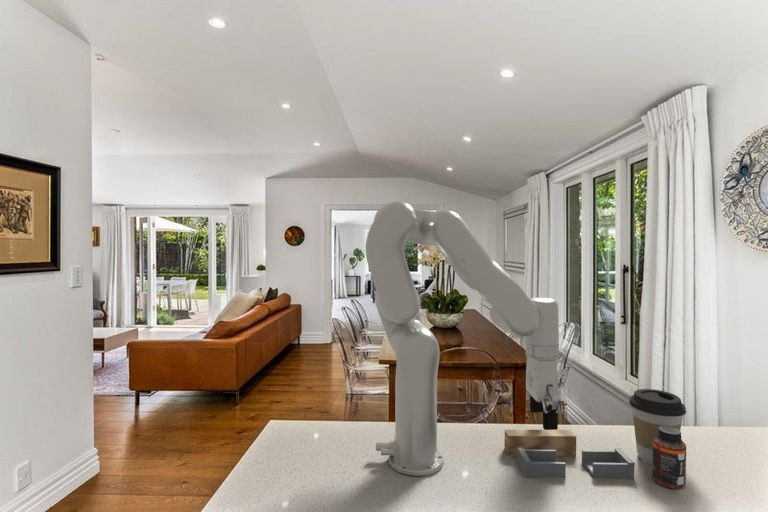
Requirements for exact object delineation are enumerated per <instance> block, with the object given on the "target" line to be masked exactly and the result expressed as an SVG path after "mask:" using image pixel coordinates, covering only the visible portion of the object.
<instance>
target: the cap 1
mask: <svg viewBox="0 0 768 512" xmlns="http://www.w3.org/2000/svg"><path fill="white" fill-rule="evenodd" d="M517 464H518V466H519V468H520V469H521V471H522V473H523V475H524V477H525V478H526V477H527V478H529V477H530V478H566V475H567V474H566V470H567V469H566V466H567V463H566V462H565V461H561V462H560V461H557V456H556V450H529V449H523V448H518V456H517Z"/></svg>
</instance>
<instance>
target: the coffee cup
mask: <svg viewBox="0 0 768 512" xmlns="http://www.w3.org/2000/svg"><path fill="white" fill-rule="evenodd" d="M628 403H629V405H630V406H631V409H632V419H633V427H634V436H635V445H636V453H637V455H638V458H639V459H640V460H641V461H642V462H644V463H646V464H650V465H652V463H653V439H654V437H656V436H658V435H659V434H658V432H659V427H662V426H667V427H672V428H676V429H678V430H679V431H681V428H682V423H683V418H684V415H686V414H687V410H686V409H687V407H686V406H685V404H684V403H682V399H681V398H680V397H679V396H678V395H677V394H674V393H672V392H668V391H663V390H659V389H652V388H641V389H637V390H635V391H634V392H633V394H632V395H631V396H630V397H629V402H628Z"/></svg>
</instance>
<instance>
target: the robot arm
mask: <svg viewBox="0 0 768 512" xmlns="http://www.w3.org/2000/svg"><path fill="white" fill-rule="evenodd" d="M406 243H409V244H414V245H415V244H416V245H425V246H431V247H432V246H433V247H436V249H437V250H438V252H439V253H440V254H441V255H442V257H444V258H443V259H445V260H446V263H448V264H449V265H450V267H451V268H452V270H453V272H454V273H456V275H457V276H458V277H459V279H460V280H461V281H462V282H463V283H465V285H466V286H468V287H469V288H470V289H471V290H473V291H474V292H476V293H478V294H479V295H480V296H481V297H483V298H484V299H485V300H486V301H487V303H489V305H491V306H490V309H489V317H490V318H489V319H490V321H491V322H492V323H493V324H494V325H495V326H496V327H498V328H499V329H502V330H504V331H506V332H508V333H510V334H512V335H514V336H516V337H519V338H520V337H522V338H525V342H524V343H525V356H526V370H525V371H526V372H525V373H526V375H525V388H526V390H527V392H528V394H529V395H530V396H529V410H530V412H531V413H535V414H536V413H542V428H543V429H542V430H559V429H558V427H559V424H558V423H559V422H558V421H559V419H558V418H559V417H558V415H559V414H558V413H559V410H558V409H559V405H558V404H559V377H558V376H559V375H558V366H557V365H558V364H557V360H558V359H559V358H560V334H559V333H560V332H559V331H560V330H559V329H560V328H559V327H560V325H559V303H558V301H556V299H553V298H551V297H531V298H529V296H528V295H527V293H525V291H524V290H523V289H522V287H521V286H520V285H519V284H518V283H517V281H515V280H514V278H513V277H511V276H510V275H509V274H508V273H507V271H505V270H504V269H503V268H502V267H501V266H500V265H499V264H498V263H497V262H496V261H495V259H493V258H492V257H491V255H490V254H489V253H488V252H487V250H486V249H485V248H484V246H483V245H482V243H480V241H479V240H478V239H477V237H476V236H475V234H474V233H473V231H471V229H470V228H469V226H468V225H467V223H466V222H465V221H464V220H463V218H462V217H461V216H460V215H459V214H458V213H456V212H455V211H452V210H449V209H442V210H436V211H432V210H431V211H430V210H424V209H418V208H413V207H412V206H411V205H410V204H409V203H407V202H406V201H401V200H396V201H395V200H394V201H392V202H388V203H387V204H385V205H383V206H381V207H380V208H379V209H378V210H377V212H376V213H375V215H374V219H373V222H372V224H371V225H370V228H369V230H368V233H367V235H366V241H365V258H366V262H367V266H368V269H369V272H370V275H371V279H372V282H373V284H374V287H375V293H374V302H375V306H376V309H377V310H376V311H377V313H378V314H379V315H378V316H379V317H380V320H381V324H382V326H383V329H384V332H385V334H386V339H387V340H388V343H389V345H390V347H391V349H392V350H393V352H394V354H395V357H396V368H395V380H394V382H395V383H394V387H395V388H394V390H395V391H394V396H395V397H394V399H395V400H394V401H395V404H394V405H395V406H394V407H395V408H394V409H395V411H394V413H395V417H394V419H395V426H394V427H395V436H394V437H393V440H392V441H390V440H389V442H382V441H379V442H377V441H376V442H375V452H380V455H381V456H388V464H389V466H390V467H391V468H392V469H394V471H396V472H398V473H401V474H404V475H407V476H412V477H415V476H416V477H417V476H418V477H420V476H422V477H424V476H429V475H432V474H434V473H436V472H438V471H440V470H441V469H442V468H443V466H444V456H443V454H442V453H441V452H440V451H439V450H438V449H437V446H438V445H437V443H438V440H437V439H438V437H437V433H438V432H437V431H438V429H437V427H438V425H437V424H438V412H437V411H438V374H439V371H438V370H439V363H440V355H441V353H440V352H441V351H440V345H439V342H438V340H437V338H436V336H435V334H434V333H433V332H432V331H431V330H430V329H428V327H426V326H425V325H424V324H423V321H422V318H421V314H420V311H421V298H420V295H419V292H418V290H417V288H416V285H415V282H414V280H413V277H412V275H411V271H410V269H409V268H410V267H409V265H408V262H407V259H406V255H405V254H406V253H405V246H406Z"/></svg>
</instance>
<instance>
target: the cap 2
mask: <svg viewBox="0 0 768 512" xmlns="http://www.w3.org/2000/svg"><path fill="white" fill-rule="evenodd" d="M581 464H582V466H583V467H584V468H585V469H586V470H587V471H588V473H589V474H590V475H591V476H592V478H593V479H594V478H595V479H597V478H598V479H600V478H601V479H635V466H636V465H635V462H634V461H633V460H632V459H631V458H630V457H629V456H628V455H627V454H626V453H625V452H624V451H623V450H622V449H621V448H614V450H607V449H605V450H603V449H602V450H601V449H600V450H599V449H598V450H595V449H587V450H586V449H582V450H581Z"/></svg>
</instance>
